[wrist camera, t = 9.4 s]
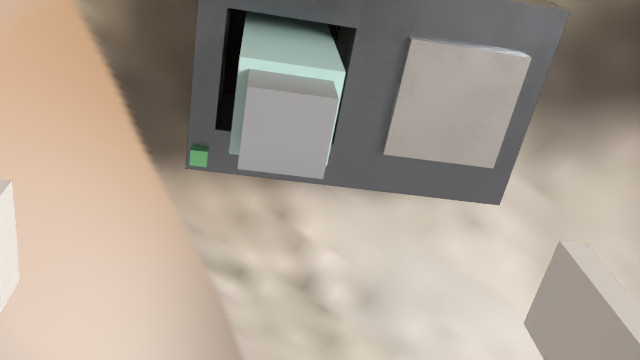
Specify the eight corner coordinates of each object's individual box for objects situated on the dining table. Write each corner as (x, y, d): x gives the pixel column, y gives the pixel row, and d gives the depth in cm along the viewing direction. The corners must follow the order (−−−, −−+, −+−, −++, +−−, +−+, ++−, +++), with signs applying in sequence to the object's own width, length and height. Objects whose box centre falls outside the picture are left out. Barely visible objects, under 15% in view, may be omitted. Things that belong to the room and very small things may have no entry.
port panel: (212, -66, 28) (201, -52, 23) (526, -10, 30) (574, 12, 25) (196, 127, 32) (184, 172, 27) (470, 162, 35) (502, 209, 30)
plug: (247, 5, 29) (237, 73, 20) (325, 18, 30) (352, 90, 20) (238, 81, 31) (225, 177, 22) (312, 91, 32) (331, 189, 22)
